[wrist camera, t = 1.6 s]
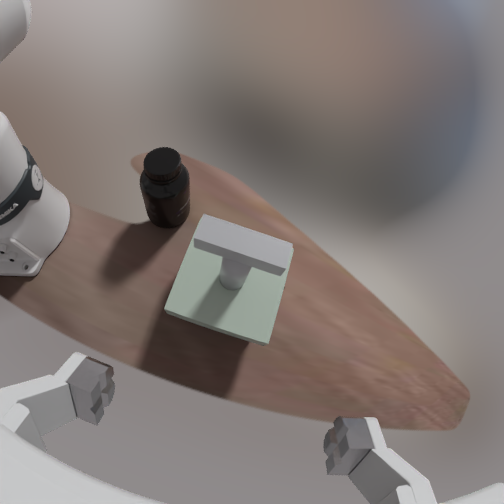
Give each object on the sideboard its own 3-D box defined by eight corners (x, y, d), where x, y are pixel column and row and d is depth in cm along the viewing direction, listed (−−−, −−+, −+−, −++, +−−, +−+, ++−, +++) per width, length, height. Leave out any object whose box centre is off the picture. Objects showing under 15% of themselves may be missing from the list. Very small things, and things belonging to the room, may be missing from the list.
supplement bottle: (193, 226, 45) (192, 179, 34) (149, 233, 43) (135, 187, 32) (187, 189, 47) (186, 138, 36) (146, 195, 45) (134, 145, 35)
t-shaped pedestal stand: (166, 313, 34) (148, 282, 22) (201, 227, 39) (202, 166, 27) (263, 345, 34) (295, 331, 23) (288, 256, 39) (323, 207, 27)
